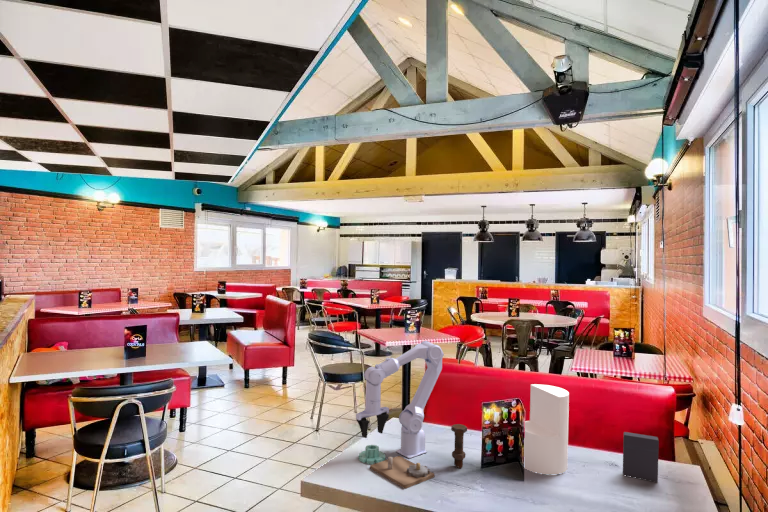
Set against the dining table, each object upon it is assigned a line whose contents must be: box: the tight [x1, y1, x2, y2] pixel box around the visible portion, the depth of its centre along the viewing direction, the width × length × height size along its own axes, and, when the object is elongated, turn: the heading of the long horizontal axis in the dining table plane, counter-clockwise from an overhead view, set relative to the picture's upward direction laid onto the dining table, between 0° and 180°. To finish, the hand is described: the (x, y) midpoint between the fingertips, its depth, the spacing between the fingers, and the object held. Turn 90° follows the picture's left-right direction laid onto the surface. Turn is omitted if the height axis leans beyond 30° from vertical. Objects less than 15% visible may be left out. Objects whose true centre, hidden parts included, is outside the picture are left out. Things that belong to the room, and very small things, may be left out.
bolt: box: [450, 423, 468, 469], centre depth 179 cm, size 6×5×15 cm
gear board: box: [369, 455, 436, 490], centre depth 173 cm, size 14×19×5 cm
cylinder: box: [524, 383, 570, 475], centre depth 182 cm, size 17×17×28 cm
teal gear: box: [358, 444, 386, 465], centre depth 185 cm, size 10×10×4 cm
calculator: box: [622, 431, 660, 483], centre depth 173 cm, size 11×4×15 cm, turn 65°
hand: (372, 434), depth 185 cm, fingers open, 7 cm apart
